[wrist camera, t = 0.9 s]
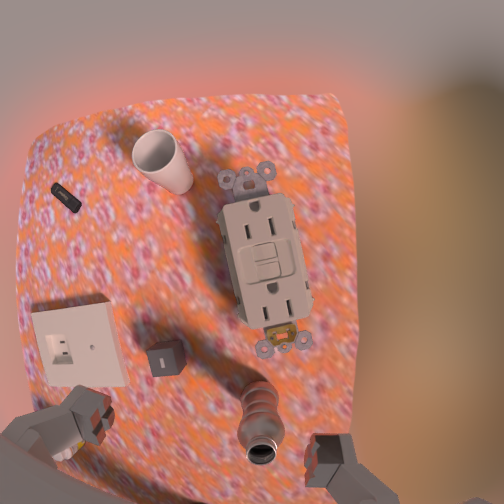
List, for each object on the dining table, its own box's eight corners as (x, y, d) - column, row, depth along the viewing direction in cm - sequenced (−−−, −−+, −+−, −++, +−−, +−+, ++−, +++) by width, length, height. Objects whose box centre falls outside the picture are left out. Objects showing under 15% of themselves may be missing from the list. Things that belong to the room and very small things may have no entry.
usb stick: (84, 204, 53) (80, 202, 51) (77, 215, 52) (73, 214, 51) (58, 182, 53) (54, 180, 51) (52, 193, 53) (48, 191, 51)
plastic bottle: (233, 395, 50) (222, 456, 30) (258, 370, 50) (259, 424, 30) (260, 415, 49) (262, 481, 29) (285, 390, 50) (300, 450, 30)
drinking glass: (158, 171, 52) (127, 139, 37) (192, 158, 52) (171, 121, 37) (167, 204, 52) (136, 181, 37) (202, 191, 52) (183, 163, 37)
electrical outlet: (278, 171, 51) (285, 154, 41) (312, 330, 52) (326, 347, 42) (212, 186, 51) (204, 171, 41) (248, 345, 52) (247, 366, 42)
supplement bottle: (64, 431, 49) (41, 450, 39) (72, 419, 50) (48, 438, 39) (82, 447, 49) (61, 468, 39) (90, 436, 49) (68, 457, 39)
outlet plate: (130, 382, 50) (125, 386, 48) (55, 382, 50) (49, 386, 48) (110, 301, 51) (104, 302, 48) (37, 312, 51) (30, 313, 49)
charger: (186, 363, 50) (178, 374, 44) (163, 366, 50) (152, 377, 44) (181, 339, 51) (172, 348, 44) (157, 342, 51) (146, 351, 44)
